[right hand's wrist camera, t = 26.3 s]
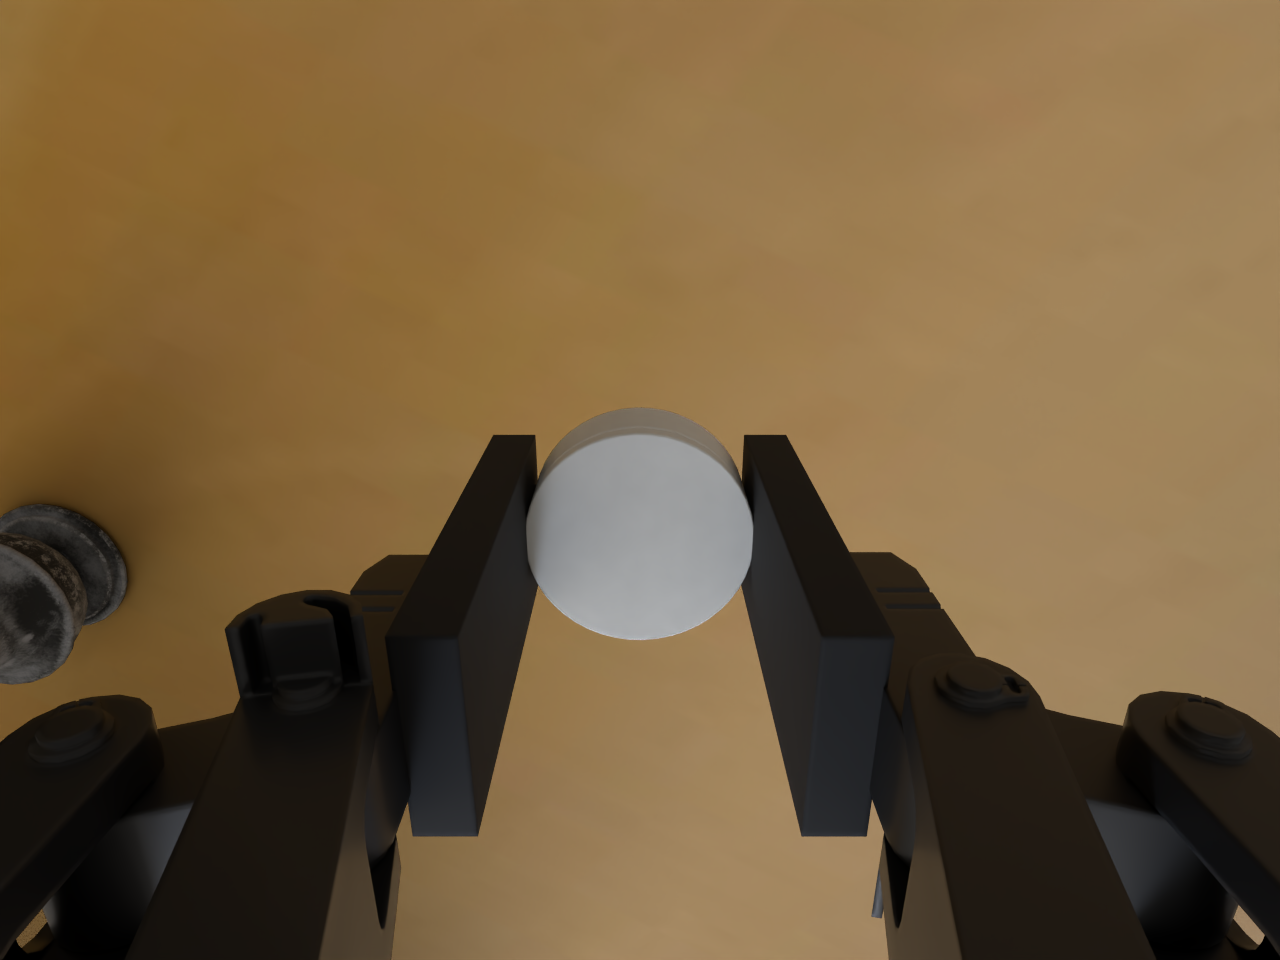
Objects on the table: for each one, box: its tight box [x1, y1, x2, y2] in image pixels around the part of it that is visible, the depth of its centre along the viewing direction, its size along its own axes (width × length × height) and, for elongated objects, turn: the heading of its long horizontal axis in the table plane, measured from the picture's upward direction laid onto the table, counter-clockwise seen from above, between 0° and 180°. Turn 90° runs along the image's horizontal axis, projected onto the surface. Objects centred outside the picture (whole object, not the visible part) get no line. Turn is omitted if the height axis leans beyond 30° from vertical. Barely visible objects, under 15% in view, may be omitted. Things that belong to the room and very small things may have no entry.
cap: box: [526, 408, 753, 640], centre depth 14 cm, size 4×4×2 cm
